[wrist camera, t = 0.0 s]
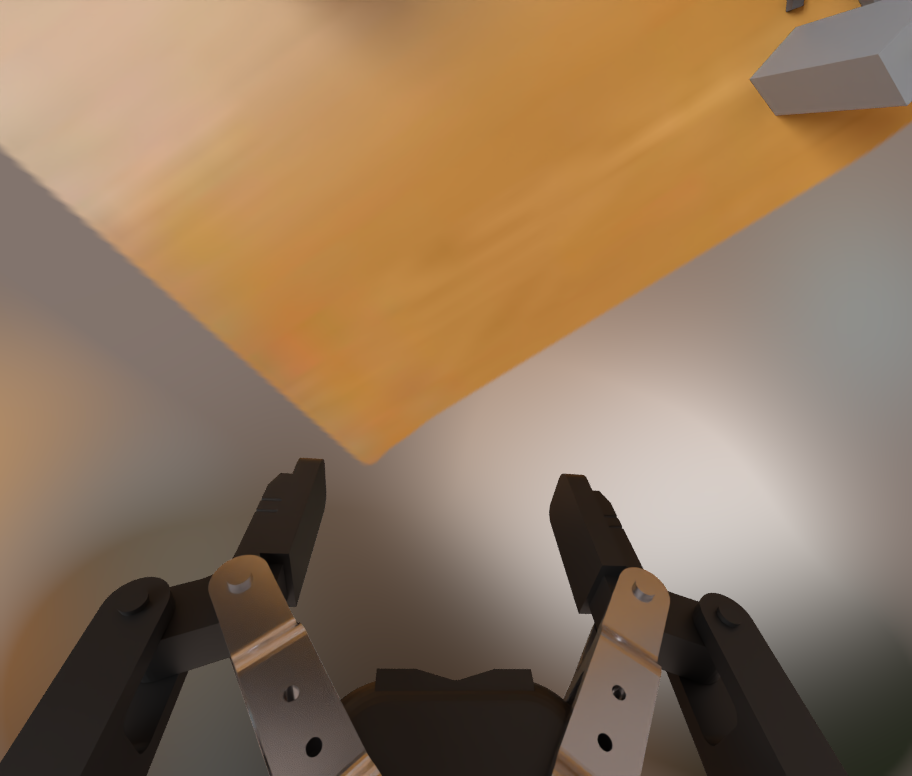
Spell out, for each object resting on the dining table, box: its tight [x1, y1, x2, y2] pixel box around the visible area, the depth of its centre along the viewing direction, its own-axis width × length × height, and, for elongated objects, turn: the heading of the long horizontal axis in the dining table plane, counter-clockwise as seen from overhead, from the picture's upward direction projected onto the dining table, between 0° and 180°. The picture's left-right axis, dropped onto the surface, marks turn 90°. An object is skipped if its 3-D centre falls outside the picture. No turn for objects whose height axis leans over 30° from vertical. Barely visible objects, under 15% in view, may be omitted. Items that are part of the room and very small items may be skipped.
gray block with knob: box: [750, 0, 912, 116], centre depth 27 cm, size 4×4×13 cm
